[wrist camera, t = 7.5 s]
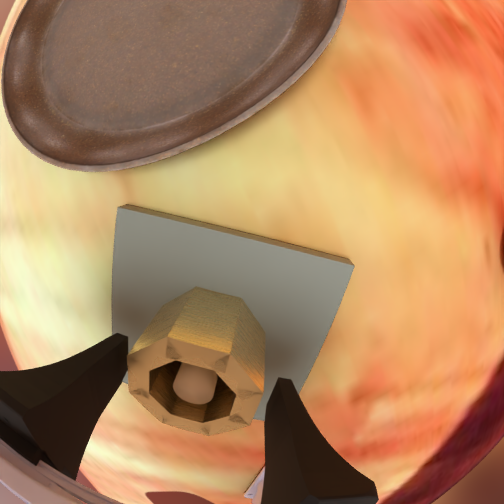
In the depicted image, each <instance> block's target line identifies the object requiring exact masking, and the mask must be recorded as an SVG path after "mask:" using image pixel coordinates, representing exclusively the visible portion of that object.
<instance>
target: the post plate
mask: <svg viewBox="0 0 504 504" xmlns="http://www.w3.org/2000/svg"><path fill="white" fill-rule="evenodd" d="M353 269H354V265H353V263H352V262H351V261H350V260H349V259H346V258H342V257H338V256H335V255H331V254H327V253H323V252H319V251H316V250H312V249H308V248H304V247H300V246H296V245H293V244H289V243H285V242H281V241H277V240H273V239H269V238H265V237H261V236H257V235H253V234H249V233H245V232H241V231H237V230H233V229H229V228H225V227H221V226H217V225H213V224H208V223H204V222H200V221H196V220H192V219H188V218H183V217H179V216H175V215H171V214H166V213H162V212H158V211H154V210H149V209H145V208H140V207H136V206H132V205H127V204H126V205H123V206H120V207H118V209H117V217H116V227H115V238H114V251H113V268H112V335H114V334H116V333H120V334H122V335H125V336H128V353H129V352H130V351H131V349H132V348H133V346H134V345H135V343H136V342H137V340H138V339H139V338H140V336H141V335H142V333H143V332H144V331H145V329H146V328H147V326H148V325H149V324H150V322H151V321H152V319H153V318H154V317H155V315H156V314H157V312H158V311H159V310H160V308H161V307H162V306H163V305H164V304H166V303H168V302H169V301H171V300H173V299H175V298H177V297H178V296H180V295H182V294H184V293H185V292H187V291H189V290H191V289H193V288H194V287H196V286H197V287H201V288H204V289H208V290H212V291H216V292H220V293H224V294H228V295H232V296H236V297H240V298H242V299H243V301H244V302H245V303H246V305H247V306H248V308H249V309H250V311H251V312H252V314H253V315H254V316H255V318H256V319H257V321H258V322H259V324H260V325H261V326H262V328H263V329H264V331H265V332H266V334H265V368H264V394H263V396H262V398H261V401H260V403H259V406H258V408H257V410H256V413H255V415H254V417H253V419H257V420H263V421H265V412H266V404H267V402H268V400H269V398H270V395H271V393H272V391H273V389H274V386H275V384H276V382H277V379H278V377H281V378H287V379H291V380H292V381H293V384H294V386H295V388H296V390H297V392H298V394H299V393H300V391H301V389H302V387H303V385H304V383H305V381H306V379H307V377H308V375H309V373H310V371H311V369H312V367H313V364H314V362H315V360H316V358H317V356H318V354H319V352H320V350H321V347H322V345H323V343H324V341H325V339H326V336H327V334H328V332H329V329H330V327H331V325H332V322H333V320H334V318H335V315H336V313H337V311H338V308H339V306H340V303H341V301H342V298H343V296H344V293H345V290H346V288H347V285H348V283H349V280H350V277H351V275H352V272H353ZM217 379H218V374H217V373H216V372H215V371H214V370H210V369H206V368H202V367H198V366H195V365H191V364H187V363H184V362H182V364H181V366H180V369H179V371H178V373H177V376H176V378H175V380H174V383H173V389H174V391H175V393H176V394H177V395H178V396H179V397H180V398H181V399H183V400H185V401H187V402H189V403H193V404H204V403H207V402H209V401H211V400H212V398H213V396H214V391H215V387H216V383H217ZM122 382H124V383H127V384H128V370H127V372H126V375H125V377H124V379H123V381H122Z"/></svg>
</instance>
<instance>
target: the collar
mask: <svg viewBox="0 0 504 504" xmlns="http://www.w3.org/2000/svg"><path fill="white" fill-rule="evenodd" d="M265 334H266V332H265V331H264V329H263V328H262V326H261V325H260V324H259V322H258V321H257V319H256V318H255V316H254V315H253V314H252V312H251V311H250V309H249V308H248V306H247V305H246V303H245V302H244V301H243V299H242V298H240V297H236V296H232V295H228V294H224V293H220V292H216V291H212V290H208V289H204V288H201V287H197V286H196V287H194V288H193V289H191V290H189V291H187V292H185V293H184V294H182V295H180V296H178V297H177V298H175V299H173V300H171V301H169V302H168V303H166V304H164V305H163V306H162V307H161V308H160V310H159V311H158V312H157V314H156V315H155V317H154V318H153V319H152V321H151V322H150V324H149V325H148V326H147V328H146V329H145V331H144V332H143V333H142V335H141V336H140V338H139V339H138V340H137V342H136V343H135V345H134V346H133V348H132V349H131V351H130V352H129V353H128V355H127V369H128V386H129V392H130V393H131V394H132V395H133V396H134V397H135V398H136V399H137V400H138V401H139V402H140V403H141V404H142V405H143V406H144V407H145V408H146V409H147V410H148V411H149V412H150V413H152V414H153V415H154V416H155V417H156V418H157V419H158V420H159V421H160V422H162V423H164V424H167V425H170V426H174V427H177V428H181V429H184V430H188V431H191V432H195V433H199V434H203V435H207V436H210V435H214V434H219V433H223V432H227V431H231V430H235V429H238V428H242V427H246V426H249V425H250V424H251V422H252V419H253V417H254V415H255V413H256V410H257V408H258V406H259V403H260V401H261V398H262V396H263V394H264V368H265ZM182 362H184V363H187V364H191V365H195V366H198V367H202V368H206V369H210V370H214V371H215V372H216V373H217V374H218V379H217V383H216V387H215V391H214V396H213V398H212V400H211V401H209V402H207V403H204V404H193V403H189V402H187V401H185V400H183V399H181V398H180V397H179V396H178V395H177V394H176V393H175V391H174V389H173V383H174V380H175V378H176V376H177V373H178V371H179V369H180V366H181V364H182Z"/></svg>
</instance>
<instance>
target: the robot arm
mask: <svg viewBox="0 0 504 504" xmlns="http://www.w3.org/2000/svg"><path fill="white" fill-rule="evenodd" d="M127 355H128V336H125V335H122V334H120V333H116V334H114V335H112V336H110V337H108V338H106V339H105V340H103V341H101V342H99V343H98V344H96V345H94V346H92V347H90V348H88V349H86V350H85V351H83V352H80V353H78V354H76V355H74V356H72V357H70V358H67V359H65V360H62V361H59V362H56V363H53V364H50V365H46V366H42V367H38V368H34V369H28V370H20V371H0V483H2V484H3V485H4V486H5V487H6V488H8V489H9V490H10V491H11V492H12V493H14V494H15V495H16V496H17V497H19V498H20V499H21V500H23V501H24V502H25V503H27V504H83V503H82V502H81V501H83V502H85V503H87V504H123V503H121V502H118V501H116V500H114V499H111V498H109V497H107V496H104V495H102V494H100V493H98V492H96V491H94V490H92V489H90V488H87V487H86V486H84V485H81V484H80V483H78V482H76V477H77V473H78V470H79V466H80V463H81V460H82V457H83V454H84V452H85V449H86V446H87V444H88V441H89V439H90V436H91V434H92V432H93V430H94V427H95V425H96V423H97V421H98V419H99V417H100V416H101V414H102V412H103V411H104V409H105V408H106V406H107V405H108V403H109V401H110V400H111V398H112V397H113V395H114V394H115V392H116V391H117V389H118V388H119V386H120V385H121V383H122V381H123V379H124V377H125V375H126V372H127V370H128V369H127ZM264 427H265V466H264V468H263V469H262V471H261V472H260V473H259V475H258V476H257V478H256V479H255V480H254V482H253V483H252V484H251V486H250V487H249V488H248V490H247V491H246V492H245V494H244V497H245V498H252V504H376V503H377V501H378V500H379V499H378V494H377V489H376V486H375V483H374V482H373V481H372V480H370V479H369V478H367V477H366V476H364V475H363V474H361V473H360V472H359V471H357V470H356V469H355V468H354V467H352V466H351V465H350V464H349V463H348V462H346V461H345V460H344V459H343V458H342V457H341V456H340V455H339V454H338V453H337V452H336V451H335V450H334V449H333V448H332V447H331V445H330V444H329V443H328V442H327V441H326V439H325V438H324V437H323V435H322V434H321V433H320V431H319V430H318V428H317V427H316V425H315V424H314V422H313V421H312V419H311V417H310V416H309V414H308V412H307V410H306V408H305V407H304V405H303V403H302V401H301V399H300V397H299V395H298V392H297V390H296V388H295V386H294V384H293V381H292V380H291V379H287V378H281V377H278V379H277V382H276V384H275V386H274V389H273V391H272V393H271V395H270V398H269V400H268V402H267V404H266V412H265V422H264ZM73 496H74V497H73ZM75 497H76V498H75ZM78 499H79V500H78ZM80 500H81V501H80Z"/></svg>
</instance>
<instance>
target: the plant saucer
mask: <svg viewBox="0 0 504 504" xmlns="http://www.w3.org/2000/svg"><path fill="white" fill-rule="evenodd" d="M346 2H347V0H27V1H26V3H25V5H24V7H23V9H22V10H21V12H20V14H19V16H18V18H17V20H16V22H15V24H14V27H13V29H12V32H11V35H10V37H9V40H8V44H7V48H6V51H5V55H4V62H3V67H2V79H1V83H2V99H3V105H4V108H5V113H6V116H7V119H8V122H9V124H10V126H11V128H12V130H13V132H14V133H15V135H16V136H17V138H18V139H19V140H20V142H21V143H22V144H23V145H24V146H25V147H26V148H27V149H28V150H29V151H30V152H31V153H33V154H34V155H36V156H37V157H39V158H40V159H42V160H43V161H45V162H48V163H50V164H53V165H55V166H58V167H61V168H65V169H69V170H76V171H85V172H103V171H114V170H122V169H127V168H133V167H137V166H142V165H146V164H149V163H153V162H156V161H159V160H162V159H165V158H168V157H171V156H174V155H176V154H179V153H181V152H184V151H186V150H188V149H190V148H193V147H195V146H197V145H200V144H202V143H204V142H206V141H208V140H210V139H212V138H214V137H216V136H218V135H220V134H222V133H224V132H226V131H227V130H229V129H231V128H233V127H234V126H236V125H238V124H239V123H241V122H243V121H244V120H246V119H248V118H249V117H251V116H252V115H254V114H255V113H257V112H258V111H260V110H261V109H263V108H264V107H265V106H267V105H268V104H269V103H271V102H272V101H273V100H274V99H276V98H277V97H278V96H280V95H281V94H282V93H283V92H285V91H286V90H287V89H288V88H289V87H290V86H292V85H293V84H294V83H295V82H296V81H297V80H298V79H299V78H300V77H301V76H302V75H303V74H304V73H305V72H306V71H307V70H308V69H309V68H310V67H311V66H312V64H313V63H314V62H315V61H316V60H317V59H318V58H319V56H320V55H321V54H322V52H323V51H324V50H325V48H326V47H327V45H328V44H329V43H330V41H331V39H332V38H333V36H334V34H335V32H336V30H337V29H338V27H339V24H340V22H341V19H342V16H343V14H344V11H345V7H346Z"/></svg>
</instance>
